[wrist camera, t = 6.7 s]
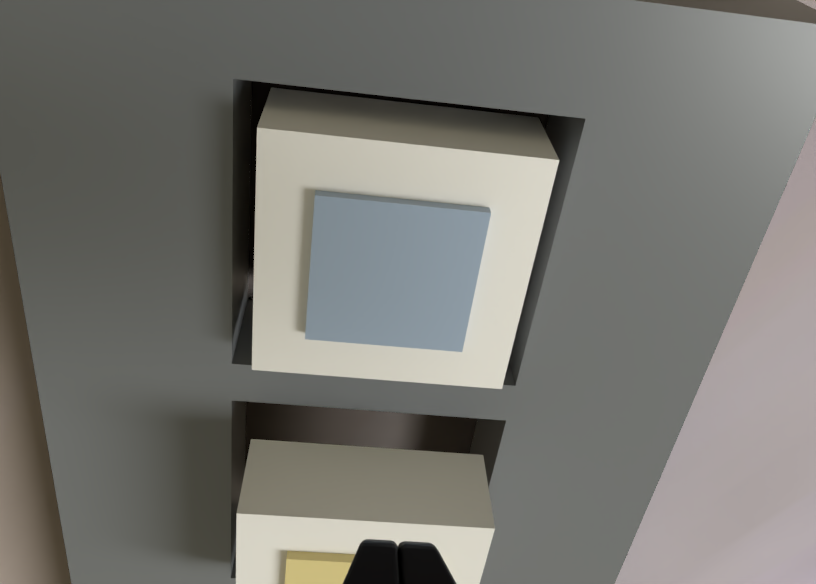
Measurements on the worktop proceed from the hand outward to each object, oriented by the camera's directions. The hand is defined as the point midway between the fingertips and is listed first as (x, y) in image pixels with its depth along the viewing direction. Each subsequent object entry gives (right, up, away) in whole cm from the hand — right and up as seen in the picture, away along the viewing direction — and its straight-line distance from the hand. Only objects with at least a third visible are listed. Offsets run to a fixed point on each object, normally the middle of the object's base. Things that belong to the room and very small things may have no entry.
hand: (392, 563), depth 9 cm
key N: (0, +5, +7) cm, 8 cm away
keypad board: (-1, -1, +12) cm, 12 cm away
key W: (-1, -2, +9) cm, 9 cm away
